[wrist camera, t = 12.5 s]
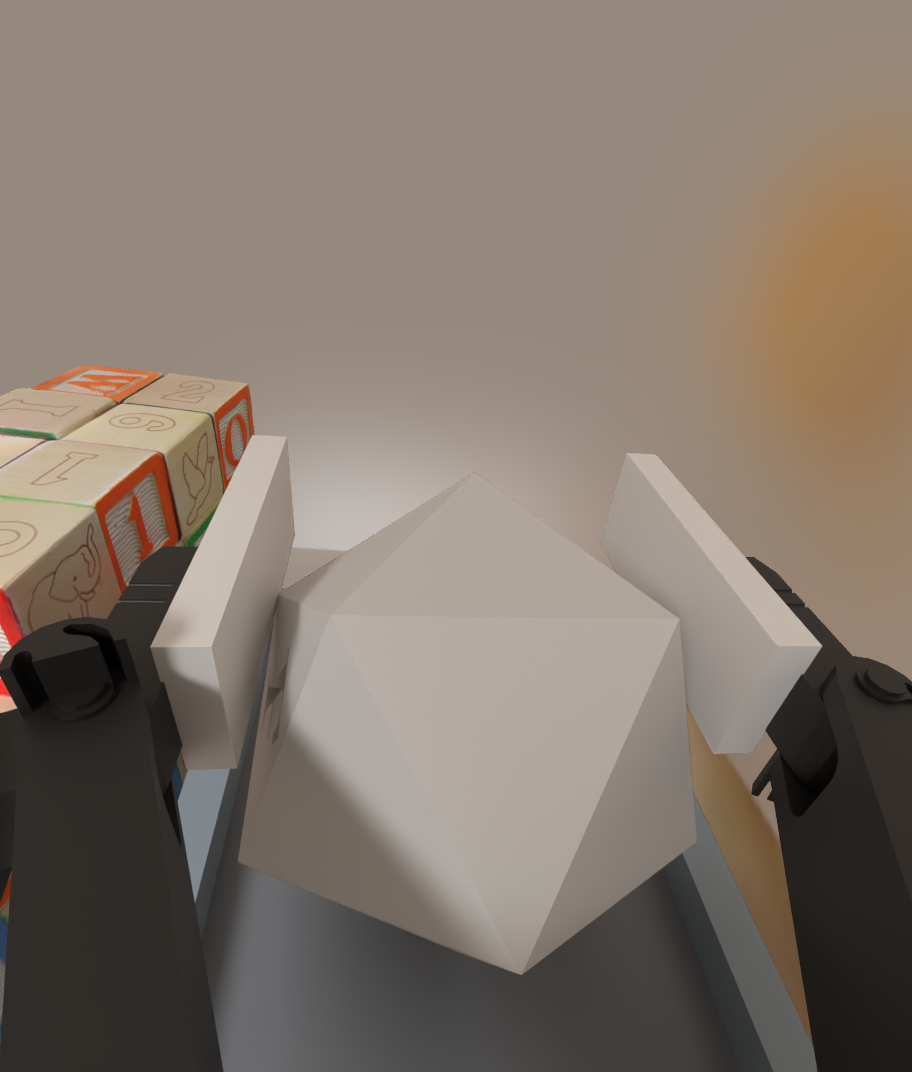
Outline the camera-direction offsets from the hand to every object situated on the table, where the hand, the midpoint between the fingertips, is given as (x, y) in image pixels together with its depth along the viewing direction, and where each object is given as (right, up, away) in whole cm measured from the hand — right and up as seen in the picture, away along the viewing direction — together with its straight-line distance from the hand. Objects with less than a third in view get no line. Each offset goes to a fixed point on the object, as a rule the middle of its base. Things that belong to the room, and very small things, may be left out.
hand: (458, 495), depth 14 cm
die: (0, -8, 0) cm, 8 cm away
